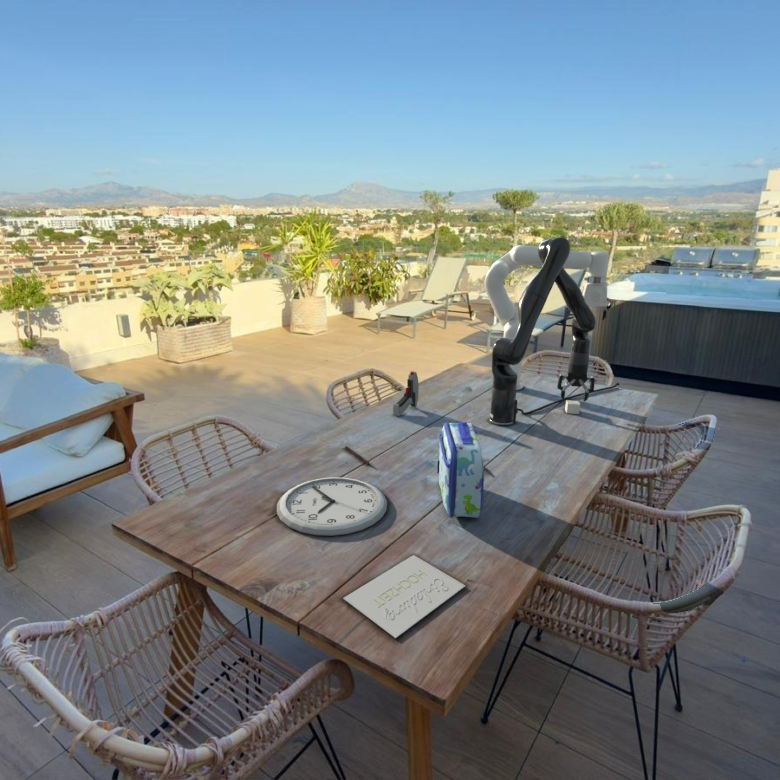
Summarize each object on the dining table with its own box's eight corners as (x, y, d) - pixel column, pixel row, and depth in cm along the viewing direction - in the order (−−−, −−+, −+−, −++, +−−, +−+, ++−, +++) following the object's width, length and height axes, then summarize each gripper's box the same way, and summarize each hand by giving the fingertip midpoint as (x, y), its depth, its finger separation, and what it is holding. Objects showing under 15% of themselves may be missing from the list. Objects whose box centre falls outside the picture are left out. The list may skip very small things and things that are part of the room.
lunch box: (435, 478, 159) (438, 413, 153) (470, 478, 159) (475, 414, 153) (442, 524, 134) (446, 449, 128) (484, 525, 134) (490, 450, 128)
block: (566, 413, 218) (567, 403, 216) (564, 409, 222) (566, 400, 221) (579, 414, 217) (580, 404, 215) (577, 410, 222) (578, 400, 220)
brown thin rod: (344, 448, 179) (344, 445, 179) (346, 448, 179) (346, 445, 179) (367, 464, 167) (367, 462, 167) (368, 464, 167) (368, 461, 167)
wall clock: (392, 527, 129) (268, 531, 127) (391, 533, 130) (269, 537, 127) (383, 473, 158) (282, 475, 155) (383, 478, 158) (282, 480, 156)
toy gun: (392, 379, 206) (413, 369, 217) (393, 417, 212) (414, 405, 223) (397, 380, 205) (418, 370, 216) (398, 418, 210) (418, 406, 222)
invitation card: (413, 554, 121) (465, 585, 111) (413, 555, 121) (465, 586, 111) (343, 597, 107) (395, 637, 97) (343, 598, 107) (395, 638, 97)
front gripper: (561, 363, 211) (557, 401, 215) (598, 365, 208) (593, 404, 213) (559, 358, 218) (555, 395, 222) (595, 361, 215) (590, 398, 220)
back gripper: (577, 280, 229) (572, 319, 234) (619, 282, 226) (613, 321, 231) (574, 279, 236) (570, 316, 241) (615, 280, 233) (609, 318, 238)
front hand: (573, 399), depth 218 cm, fingers open, 8 cm apart
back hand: (591, 319), depth 236 cm, fingers open, 9 cm apart
